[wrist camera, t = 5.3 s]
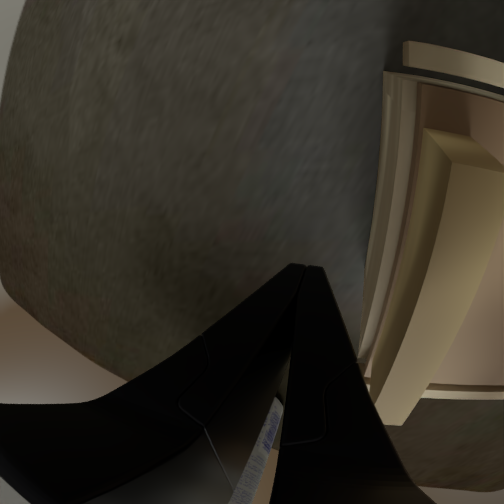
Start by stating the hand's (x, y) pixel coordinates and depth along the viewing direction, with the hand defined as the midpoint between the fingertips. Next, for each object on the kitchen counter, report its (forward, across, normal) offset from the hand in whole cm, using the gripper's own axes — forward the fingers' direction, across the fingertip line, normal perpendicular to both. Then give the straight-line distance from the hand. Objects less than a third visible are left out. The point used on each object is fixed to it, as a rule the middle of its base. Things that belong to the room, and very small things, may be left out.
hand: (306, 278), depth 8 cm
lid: (+1, -9, 0) cm, 9 cm away
